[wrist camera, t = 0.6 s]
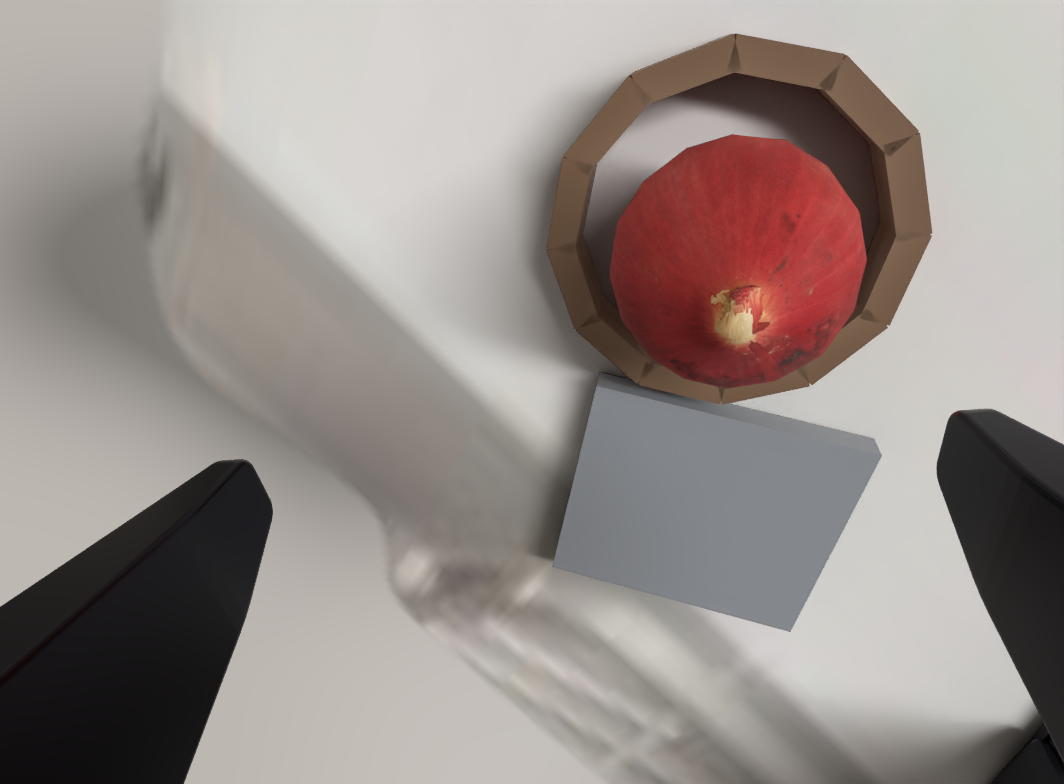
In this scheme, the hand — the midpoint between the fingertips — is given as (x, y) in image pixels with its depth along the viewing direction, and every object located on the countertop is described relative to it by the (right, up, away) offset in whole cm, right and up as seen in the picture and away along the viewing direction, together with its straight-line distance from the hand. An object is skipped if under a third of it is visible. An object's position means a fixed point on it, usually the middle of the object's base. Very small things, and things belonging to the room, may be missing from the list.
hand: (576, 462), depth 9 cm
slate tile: (+5, -3, +15) cm, 16 cm away
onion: (+5, +6, +11) cm, 13 cm away
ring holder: (+5, +6, +11) cm, 13 cm away
